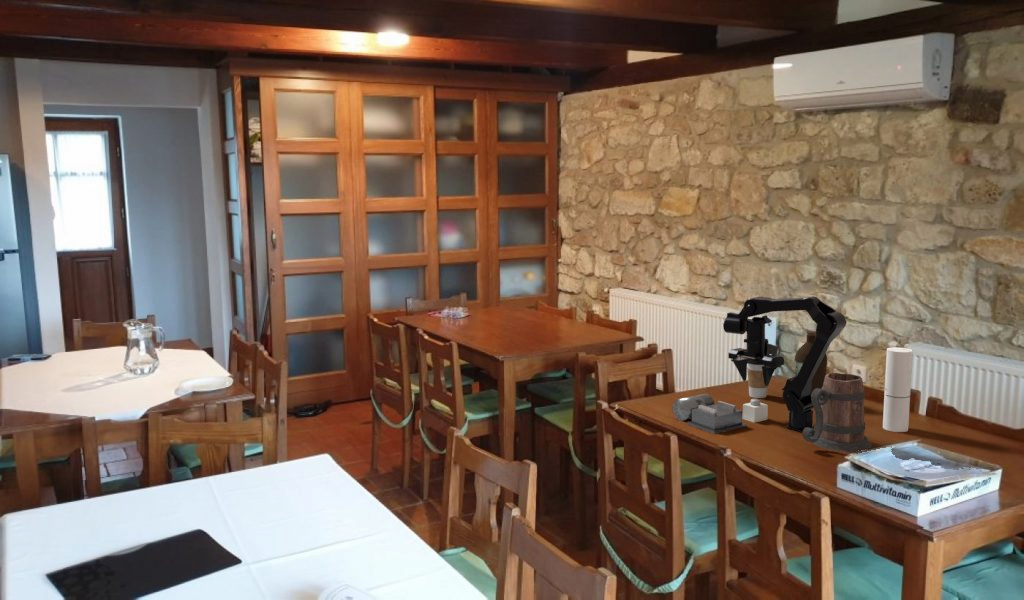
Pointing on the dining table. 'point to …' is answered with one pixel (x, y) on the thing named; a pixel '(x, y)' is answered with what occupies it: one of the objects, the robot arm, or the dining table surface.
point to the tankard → (839, 414)
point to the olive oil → (801, 356)
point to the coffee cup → (756, 379)
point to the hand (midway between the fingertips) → (755, 383)
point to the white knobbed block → (755, 411)
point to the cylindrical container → (897, 389)
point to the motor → (708, 414)
